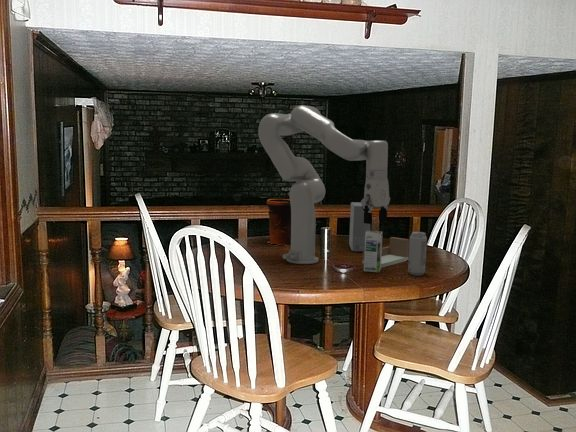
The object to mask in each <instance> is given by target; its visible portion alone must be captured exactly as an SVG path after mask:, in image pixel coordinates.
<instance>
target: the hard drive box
mask: <svg viewBox="0 0 576 432" xmlns="http://www.w3.org/2000/svg"><path fill="white" fill-rule="evenodd" d="M368 208H370V207H368ZM366 231H371V224H366V223H364V212H363V209H362V205H361V202H358V201H357V202H355V201H354V202H353V201H352V202H350V217H349V237H348V238H349V239H348V241H349V242H348V243H349V244H348V245H349V247H350V250H351V251H352V252H365V233H366Z"/></svg>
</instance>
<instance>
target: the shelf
mask: <svg viewBox="0 0 576 432" xmlns="http://www.w3.org/2000/svg"><path fill="white" fill-rule="evenodd" d="M409 242H410V238H409V239H408V238H403V237H402V238H401V237H395V236H394V237H393V236H391V237H389V245H388V246H384V247H382V255H381V269H382V268H385V267H389V266H392V265H397V264H400V263H403V262H407V260H408V261H409ZM364 255H365V251H362V263H361V264H362V265H364Z"/></svg>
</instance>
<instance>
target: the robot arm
mask: <svg viewBox="0 0 576 432" xmlns="http://www.w3.org/2000/svg"><path fill="white" fill-rule="evenodd" d="M258 125H259V126H258V129H257V130H258V131H257V132H258V138H259V141H260V144H261V145H262V147H263V149H264V151H265V152H266V154H267V155H268V156H269V158H270V159H271V162H272V164H273V165H274V167H275V169H276V170H277V171H278V173H279V175H280V177H281V178H282V180H284V181H285V182H295V183H293V185H291V188H290V190H289V199H290V204H291V245H290V249H289V250H288V252H287V253H283V254H282V259H284V260H286V261H287V263H290V264H296V265H311V264H312V265H313V264H317V263H318V262H319V257H317V256H315V255H316V224H317V222H316V221H317V220H316V219H317V217H316V215H317V214H316V208H315V204H317V203H319V202H321V201H323V200H324V198H325V195H326V188H325V184H324V183H323V181H322V179H321V178H320V175H319V174H318V172H317V171H316V170H315V168H314V166H313V165H312V163H311V162H310V161H309V160H308V159H306V158H305V157H304V156H303V157H302V156H295V154H294V153H293V152H292V150H291V148H290V147H289V144H287V142H286V141H285V140H284V139H283V138H282V136H283V137H287V136H292V135H295V134H298V133H299V134H300V133H303V132H305V133H306V134H309V136H311V137H313V138H315V139H316V140H317V141H319V142H321V144H322V145H324V147H326V149H328V151H331V152H332V153H334V154H335V155H337V156H338V157H340V158H342V159H344V160H346V161H350V162H353V161H357V162H358V161H365V163H366V167H365V183H364V191H363V198H362V199H361V200H360V203H361V205H362V209H363V212H364V223H366V224H370V225H372V224H373V212H372V211H373V209H374V208H379V209H378V221H381V222H387V221H388V210H389V207H390V202H391V197H390V187H389V186H390V185H389V178H388V158H389V157H388V156H389V154H388V153H389V151H388V150H389V144H388V142H387V140H379V139H378V140H377V139H376V140H375V139H374V140H364V139H352V138H350V137H349V136H347V135H345V134H344V133H342V132H341V131H339V130H338V129H337V128H336V126H335V122H333V121H332V120H331V119H329V118H327V117H326V116H324V115H322V114H321V112H320V110H319V109H318V108H316V107H315V106H311V105H305V104H304V105H303V104H301V105H297V106H295V107H294V108H293V109H292V110H291V112H290V113H287V114H285V113H279V112H278V113H277V112H275V113H273V112H272V113H268V114H265V116H263V118H262V119H260V123H259V124H258ZM368 207H370V208H368Z"/></svg>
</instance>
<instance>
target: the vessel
mask: <svg viewBox="0 0 576 432" xmlns="http://www.w3.org/2000/svg"><path fill="white" fill-rule="evenodd" d="M266 206H267V207H268V216H269V220H268V222H269V224H268V225H269V228H268V231H269V241H267V244H268V243H271V244H277V245H285V246H291V204H290V198H287V199H286V198H269V199H267V200H266ZM271 244H270V245H271ZM277 245H276V246H277Z"/></svg>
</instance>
